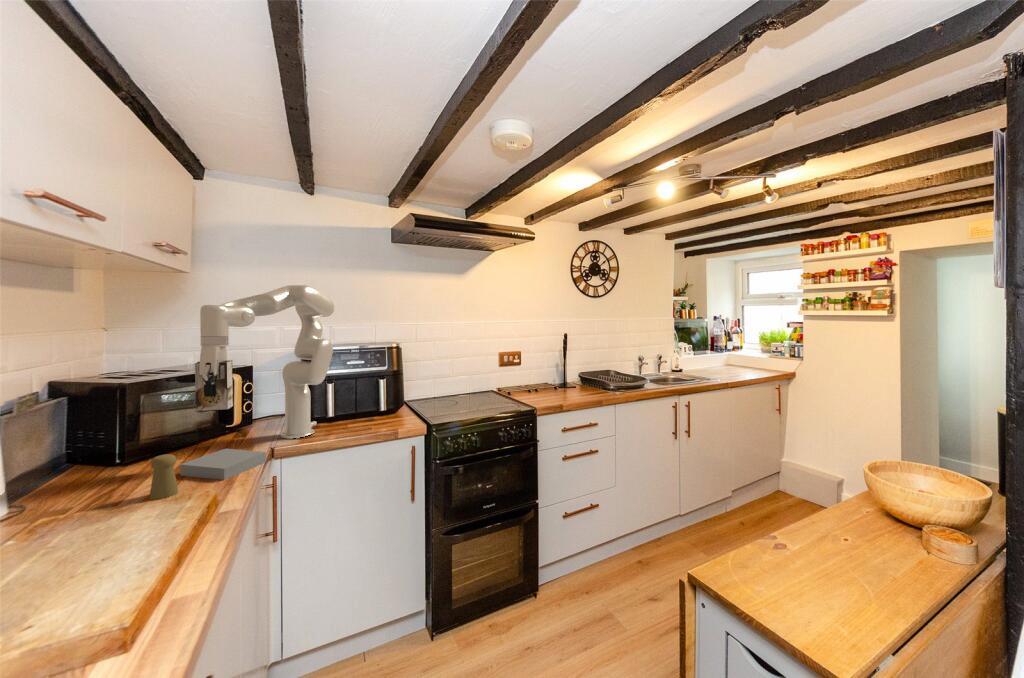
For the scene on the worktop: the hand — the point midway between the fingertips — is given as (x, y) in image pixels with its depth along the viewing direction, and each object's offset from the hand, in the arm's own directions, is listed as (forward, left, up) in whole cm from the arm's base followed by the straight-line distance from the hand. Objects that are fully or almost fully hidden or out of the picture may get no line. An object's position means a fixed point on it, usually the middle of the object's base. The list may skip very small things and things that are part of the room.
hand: (214, 393), depth 132 cm
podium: (+3, +7, -24) cm, 25 cm away
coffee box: (0, 0, -5) cm, 5 cm away
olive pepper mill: (+23, +8, -24) cm, 34 cm away
